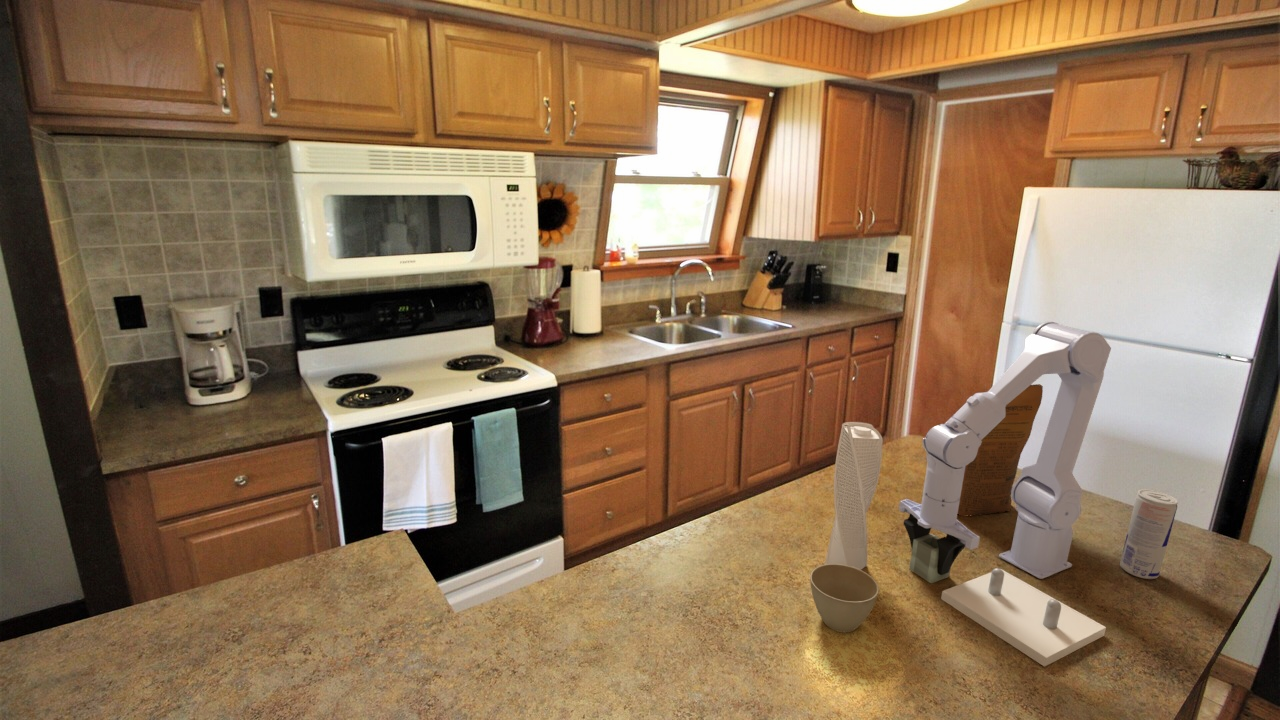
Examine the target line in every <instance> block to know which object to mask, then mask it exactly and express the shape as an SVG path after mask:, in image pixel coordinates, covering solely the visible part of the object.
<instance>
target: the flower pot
mask: <svg viewBox="0 0 1280 720" xmlns="http://www.w3.org/2000/svg"><path fill="white" fill-rule="evenodd" d="M809 582H810V589H811V590H810V591H811V594H812V598H813V601H814V605H815V606H816V609H817V613H818V614H819V616H820V618H821V619H822V622H823V623H824V624H825V626H827V627H828V628H829V629H830V630H832V631H836V632H839V633H851V632H854V631H855V630H856V629H857V628H858V627H860V626H861V624H863V623H864V621H865V620H866V619H867V618H868V616H869V615H870V613H871V612H872V610H873V608H874V606H875V604H876V602H877V599H878V595H879V592H880V586H879V584H878V582H877V581H876V579H875V578H874V577H873V576H871V575H870V574H869V573H867V572H865V571H864V570H863V569H861V570H860V569H858V568H855V567H852V566H848V565H842V564H825V563H824V564H821V565H819V566H816V567H815V568H813V570H812V571H811V572H810V581H809Z"/></svg>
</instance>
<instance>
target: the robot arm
mask: <svg viewBox="0 0 1280 720" xmlns="http://www.w3.org/2000/svg"><path fill="white" fill-rule="evenodd" d="M1111 350H1112V347H1111V346H1110V344H1109V343H1108V341H1107V340H1106V339H1105V337H1104V336H1103V335H1102V334H1100V333H1098V332H1094V331H1087V330H1084V329H1079V328H1074V327H1071V326H1068V325H1063V324H1059V323H1058V322H1054V321H1045V322H1043V323H1040V324H1039V325H1038V326H1037V327H1036V328H1035V329H1034V330H1033V332H1032V333H1031V334H1029V335H1028V336H1027V337H1026V338H1025V339H1024V349H1023V351H1022V352H1021V353H1020V355H1018V357H1017V358H1016V359H1015V360H1014V362H1012V363H1011V364H1010V366H1009V367H1008V368H1007V370H1006V371H1004V372H1003V374H1002V375H1001V376H1000V377H999V378H998V379H997V381H996V382H995V383H994V384H993V385H992V386H991V388H989V390H987V391H983V393H981V392H976V393H974V394H973V395H971V396H969V397H968V398H967V400H966V402H965V403H964V404H963V405H962V406H961V407H960V408H959V409H958V410H957V411H956V412H955V413H954V414H953V415H952V416H951V417H950V418H949V419H948V420H947V421H946V422H945V423H940V424H938V425H935V426H933V427H931V428H930V429H929V430H928V431H927V433H926V435H925V437H924V438H922V439H921V440H922V443H921V444H922V447H923V449H924V450H925V452H926V459H925V460H926V462H927V463H926V469H925V470H926V472H925V477H924V483H923V490H922V499H921V503H918V502H916V501H913V500H911V499H908V498H906V499H903V500H899V505H898V511H899V512H901V513H904V514H905V513H907V514H909V516H908V518H906V519H904V520H903V526H904V528H905V530H906V532H907V534H908V539H909V540H910V546H911V547H910V548H911V549H912V548H913V541H914V539H916V538H919V537H923V536H926V535H929V534H931V533H930V532H931V530H935V531H939V532H941V533H944V534H945V535H946V536H943V537H939V538H940V539H937V543H938V549H939V560H938V567H937V571H938V574H940V575H943V574H946V573H949V570H950V571H951V569H952V566H953V563H954V562H955V560H956V559H957V557H958V556H959V555H960V553H961V552H962V551H963V550H964V549H968V550H974V549H976V548H978V547H979V545H980V539H981V536H979V535H977V534H975V533H974V532H973V531H971V530H970V529H969V528H968V527H967V526H966V525H964V524H963V523H962V522H961V521H959V519H958V515H957V514H958V508H959V502H960V496H961V490H962V484H963V478H964V472H965V466H966V465H968V464H969V463H970V462H972V461H973V460H974V459H975V457H976V455H977V452H978V448H979V446H980V445H981V443H982V441H981V440H982V439H983V438H984V437H985V436H986V435H987V434H988V433H989V432H990V431H991V430H992V429H993V428H994V427H995V426H996V425H997V424H999V423H1000V422H1001V421H1002V419H1004V418H1005V415H1006V413H1005V407H1006V405H1007V404H1008V403H1010V402H1011V401H1012V400H1013V399H1014V398H1015V397H1017V396H1018V395H1019V394H1020V393H1021V392H1023V391H1024V390H1025V389H1026V388H1027V387H1029V386H1030V385H1033V383H1034V382H1036V381H1037V380H1038V379H1040V377H1042V376H1044V375H1055V374H1056V375H1058V376H1059V378H1060V380H1061V381H1060V385H1059V388H1058V391H1057V395H1056V398H1055V401H1054V404H1053V407H1052V409H1051V410H1052V412H1051V413H1050V414H1051V415H1050V418H1049V420H1048V423H1047V427H1046V430H1045V434H1044V437H1043V440H1042V443H1041V446H1040V450H1039V453H1038V456H1037V460H1036V463H1034V464H1031V465H1027V466H1024V467H1023V468H1022V469H1021V472H1020V475H1019V477H1018V479H1017V480H1016V481H1014V483H1013V486H1012V490H1011V500H1012V501H1013V503H1014V504H1016V506H1015V510H1016V511H1017V518H1016V523H1015V528H1014V533H1013V539H1012V543H1011V548H1010V549H1009V550H1006V551H1004V552H1001V553H998V556H999V558H1000V559H1002V560H1004V561H1006V562H1008V563H1010V564H1012V565H1013V566H1015V567H1017V568H1019V569H1021V570H1023V571H1025V572H1027V573H1029V574H1031V575H1032V576H1034V577H1036V578H1038V579H1039V580H1042V579H1045V578H1047V577H1050V576H1053V575H1055V574H1058V573H1059V572H1061V571H1064V570H1066V569H1069V568H1072V566H1073V564H1072V563H1071V562H1069V561H1068V559H1069V555H1070V550H1071V546H1072V540H1073V537H1074V530H1073V525H1074V524H1076V522H1077V521H1078V519H1079V518H1080V515H1081V512H1082V504H1081V499H1082V496H1083V489H1082V488H1081V485H1080V484H1079V483H1078V480H1076V478H1075V476H1074V474H1073V473H1074V469H1075V467H1076V462H1077V460H1078V457H1079V453H1080V450H1081V448H1082V444H1083V442H1084V438H1085V435H1086V432H1087V429H1088V426H1089V423H1090V420H1091V416H1092V414H1093V410H1094V408H1095V404H1096V401H1097V399H1098V395H1099V392H1100V388H1101V386H1102V383H1103V380H1104V375H1105V369H1106V366H1107V363H1108V359H1109V356H1110V353H1111ZM950 568H951V569H950Z"/></svg>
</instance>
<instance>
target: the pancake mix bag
mask: <svg viewBox="0 0 1280 720" xmlns="http://www.w3.org/2000/svg"><path fill="white" fill-rule="evenodd" d="M1043 389H1044V386H1043V385H1041V384H1039V383H1038V384H1031V385H1030V386H1029V387H1027V388H1026V389H1025V390H1024V391H1023V392H1021V393H1020V394H1019V395H1018V396H1017V397H1015V398H1014V399H1013V400H1012V401H1011V402H1010V403H1008V404H1007V405H1006V407H1005V413H1006V415H1005V418H1004V419H1002V421H1001V422H1000V423H999V424H997V425H996V426H995V427H994V428H993V429H992V430H991V431H990V432H989V433H988V434H987V435H986V436H985V437H984V438H983V439H982V440H981V441H982V443H981V445H980V446H979V448H978V452H977V455H976V457H975V459H974V460H973V461H972V462H970V463H969V464H968V465H966V466H965V472H964V478H963V484H962V490H961V496H960V502H959V508H958V514H959V515H958V516H960V515H968V516H967V517H971V516H970V515H975V516H980V515H979V514H983V515H988V513H991V514H997V513H996V512H999V513H1006V512H1005V511H1009V510H1010V511H1011V509H1012V508H1011V507H1012V501H1013V500H1012V497H1011V490H1012V487H1013V485H1014V483H1015V479H1016V475H1017V471H1018V466H1019V462H1020V459H1021V455H1022V452H1023V451H1024V448H1025V446H1026V445H1027V443H1028V441H1029V438H1030V436H1031V433H1032V431H1033V424H1034V421H1035V419H1036V416H1037V414H1038V411H1039V409H1040V407H1041V404H1042V399H1043V392H1044V391H1043ZM983 392H984V391H983ZM983 392H980V393H983Z"/></svg>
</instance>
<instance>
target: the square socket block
mask: <svg viewBox="0 0 1280 720" xmlns="http://www.w3.org/2000/svg"><path fill="white" fill-rule="evenodd" d="M940 538H941V537H939V536H937V535H934V533H929V535H926V536H923V537H919V538H916V539H914V541H913V548H911V556H910V561H909V568H908V569H909V571H911V572H912V573H914V574H916V575H917V576H919V577H921V578H922V579H924V581H926V582H928V583H929V584H933V583H936V582H939V581H942V580H945V579H948V578H949V577H950V576H951V575H950V573H951V569H952V567H951V568H950V570H949V573H946V574H943V575H940V574H938V571H937V567H938V560H939V549H938V543H937V539H940Z"/></svg>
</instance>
